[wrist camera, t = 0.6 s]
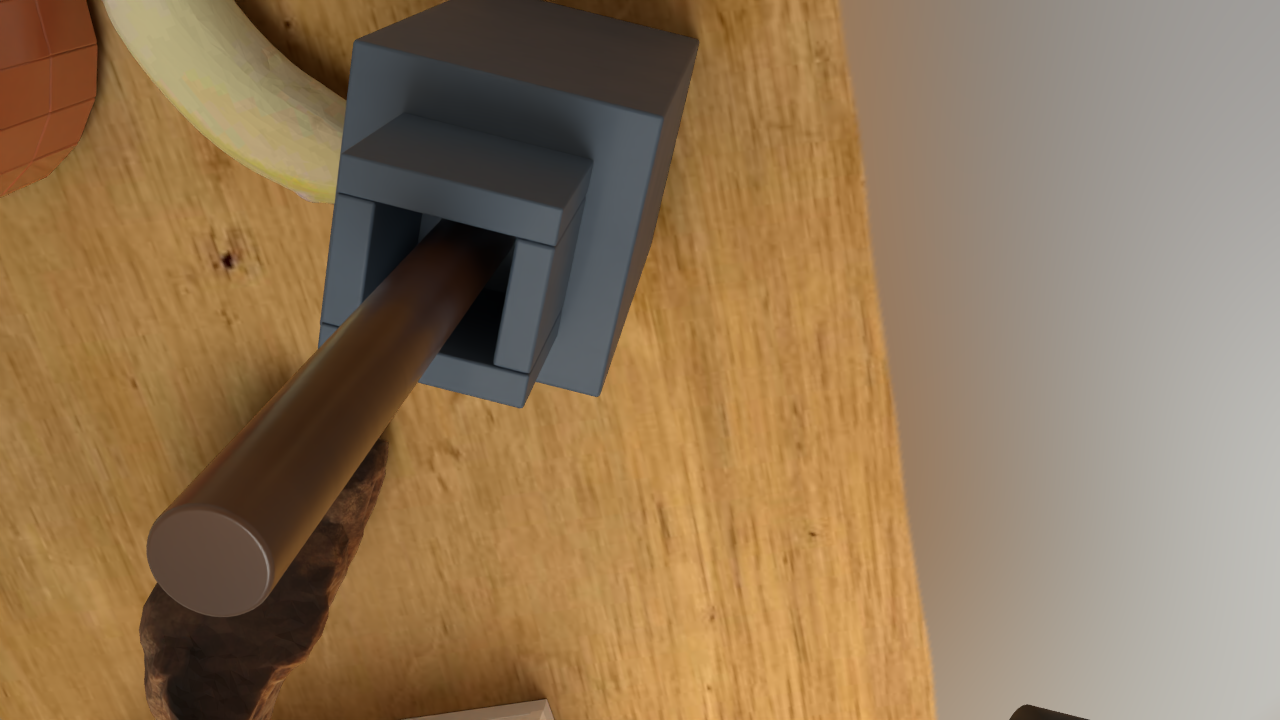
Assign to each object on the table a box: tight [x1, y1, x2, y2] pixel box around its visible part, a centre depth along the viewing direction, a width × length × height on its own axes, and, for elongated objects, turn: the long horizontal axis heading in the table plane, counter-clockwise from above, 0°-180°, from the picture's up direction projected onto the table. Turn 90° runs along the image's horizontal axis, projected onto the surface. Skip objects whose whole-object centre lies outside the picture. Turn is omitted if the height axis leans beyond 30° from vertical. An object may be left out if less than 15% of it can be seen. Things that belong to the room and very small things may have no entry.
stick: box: [147, 218, 515, 617], centre depth 20 cm, size 2×2×14 cm
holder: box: [318, 0, 699, 408], centre depth 30 cm, size 7×7×16 cm
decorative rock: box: [139, 438, 389, 720], centre depth 40 cm, size 12×6×11 cm, turn 154°
